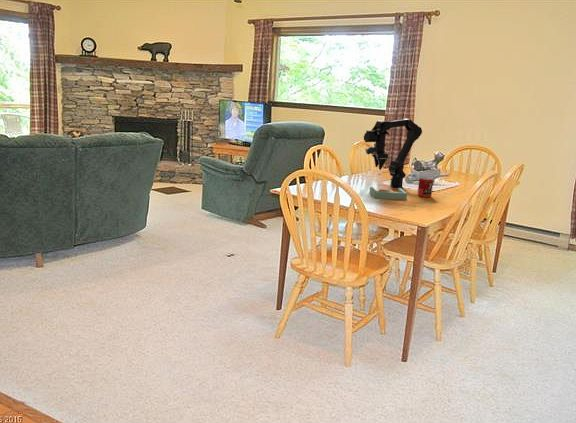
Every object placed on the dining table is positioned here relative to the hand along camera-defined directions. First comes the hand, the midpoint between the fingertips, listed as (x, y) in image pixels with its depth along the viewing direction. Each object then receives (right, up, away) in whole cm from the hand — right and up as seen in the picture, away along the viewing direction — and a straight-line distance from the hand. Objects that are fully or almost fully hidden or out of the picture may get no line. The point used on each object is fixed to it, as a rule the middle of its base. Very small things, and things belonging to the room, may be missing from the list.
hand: (378, 168), depth 317 cm
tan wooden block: (+1, -18, -21) cm, 27 cm away
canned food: (+24, -18, -15) cm, 33 cm away
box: (+2, -17, -20) cm, 27 cm away
